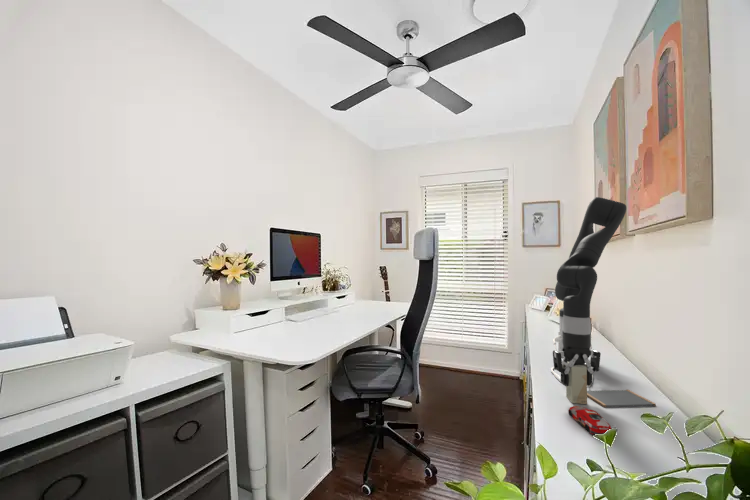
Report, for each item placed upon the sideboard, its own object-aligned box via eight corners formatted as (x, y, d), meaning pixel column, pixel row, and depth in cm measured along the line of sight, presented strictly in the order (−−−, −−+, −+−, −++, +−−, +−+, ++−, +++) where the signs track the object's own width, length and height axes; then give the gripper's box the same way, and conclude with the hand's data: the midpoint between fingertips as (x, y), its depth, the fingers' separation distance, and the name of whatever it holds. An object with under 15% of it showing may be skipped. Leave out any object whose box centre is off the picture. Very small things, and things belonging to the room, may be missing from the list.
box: (587, 404, 99) (587, 367, 99) (571, 403, 100) (571, 366, 100) (580, 397, 104) (580, 361, 104) (565, 395, 105) (565, 360, 105)
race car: (565, 413, 95) (565, 399, 95) (585, 413, 95) (585, 399, 95) (592, 438, 82) (592, 422, 82) (615, 439, 81) (615, 423, 81)
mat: (580, 392, 108) (580, 390, 108) (628, 391, 109) (628, 389, 109) (603, 407, 98) (603, 405, 98) (655, 406, 99) (655, 403, 99)
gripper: (590, 327, 107) (590, 379, 106) (546, 328, 106) (546, 380, 106) (608, 333, 99) (608, 389, 99) (561, 333, 98) (561, 390, 98)
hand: (576, 384), depth 102 cm, fingers open, 6 cm apart
